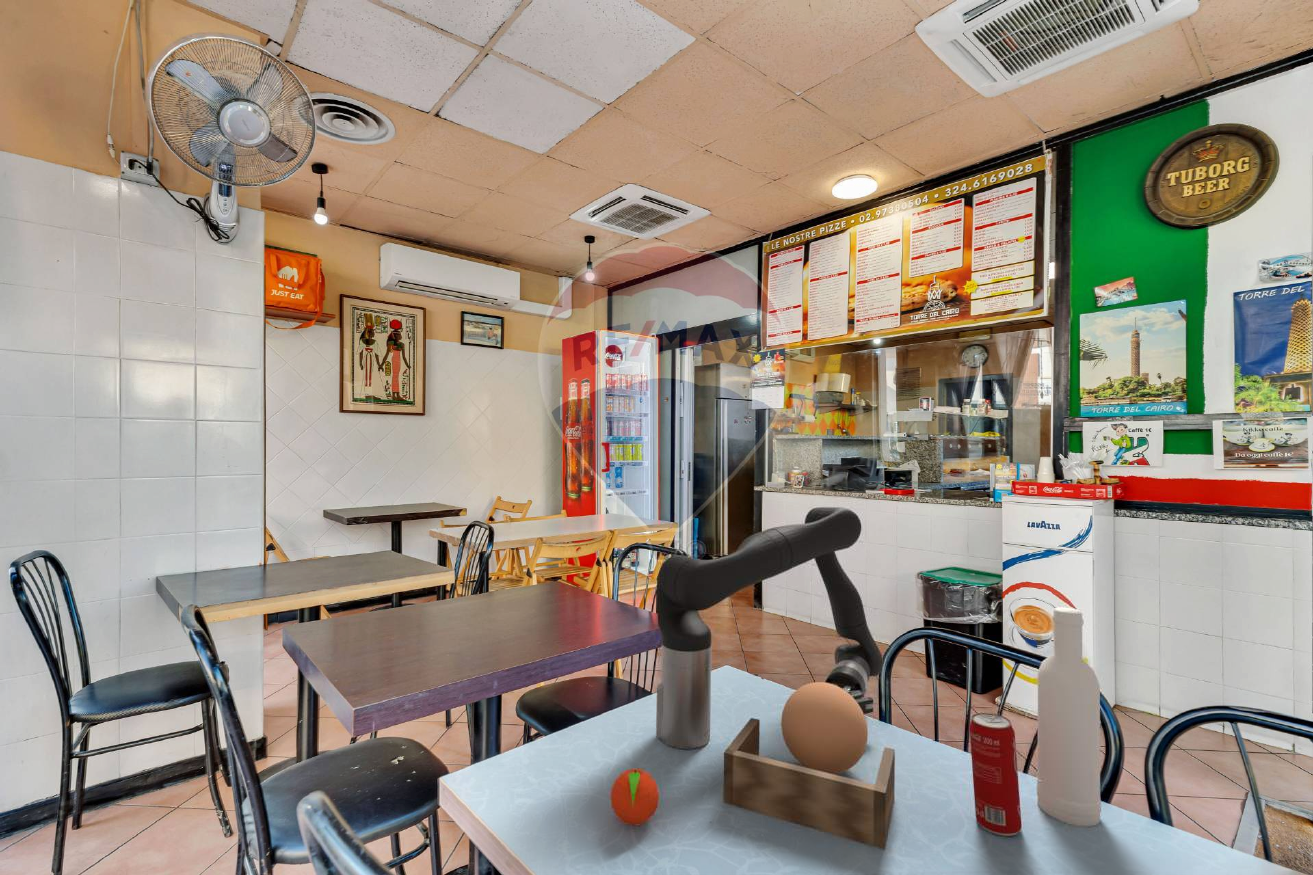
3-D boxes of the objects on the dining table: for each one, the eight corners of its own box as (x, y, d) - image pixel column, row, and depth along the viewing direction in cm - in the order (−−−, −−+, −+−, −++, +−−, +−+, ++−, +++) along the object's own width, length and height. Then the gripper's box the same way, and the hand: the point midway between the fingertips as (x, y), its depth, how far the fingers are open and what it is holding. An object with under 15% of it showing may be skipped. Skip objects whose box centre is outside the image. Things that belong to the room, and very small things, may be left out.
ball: (779, 779, 102) (767, 729, 96) (795, 708, 113) (786, 658, 106) (865, 802, 96) (858, 750, 89) (874, 724, 107) (869, 672, 100)
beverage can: (1028, 841, 83) (1028, 731, 83) (977, 834, 84) (977, 726, 84) (1011, 815, 89) (1011, 713, 89) (964, 809, 90) (964, 708, 90)
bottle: (1042, 819, 88) (1042, 612, 89) (1031, 791, 95) (1031, 601, 96) (1108, 833, 85) (1107, 619, 85) (1092, 803, 92) (1092, 606, 93)
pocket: (723, 802, 91) (723, 752, 91) (750, 762, 103) (751, 717, 103) (885, 849, 80) (885, 792, 81) (894, 798, 92) (894, 749, 93)
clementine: (658, 842, 81) (658, 788, 82) (607, 840, 81) (607, 787, 82) (658, 807, 89) (659, 758, 90) (612, 805, 89) (613, 757, 90)
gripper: (814, 659, 126) (794, 687, 111) (881, 671, 120) (870, 702, 105) (813, 695, 126) (794, 729, 110) (880, 708, 120) (869, 745, 105)
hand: (831, 716), depth 108 cm, fingers closed
